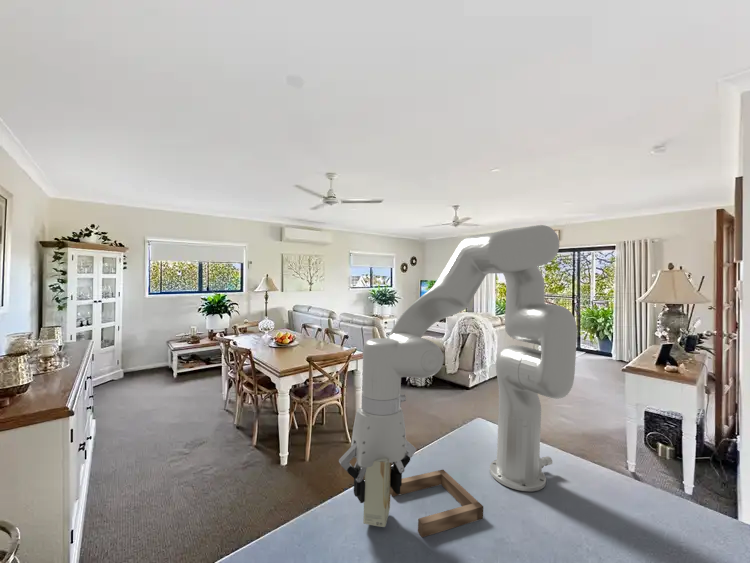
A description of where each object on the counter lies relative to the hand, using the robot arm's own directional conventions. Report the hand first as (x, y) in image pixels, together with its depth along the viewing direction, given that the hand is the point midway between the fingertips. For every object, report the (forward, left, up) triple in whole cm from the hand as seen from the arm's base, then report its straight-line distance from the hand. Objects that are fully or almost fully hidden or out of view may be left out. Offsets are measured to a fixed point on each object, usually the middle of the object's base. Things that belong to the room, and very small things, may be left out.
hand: (377, 493), depth 67 cm
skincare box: (0, 0, -5) cm, 5 cm away
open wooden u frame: (-13, 0, -5) cm, 14 cm away
